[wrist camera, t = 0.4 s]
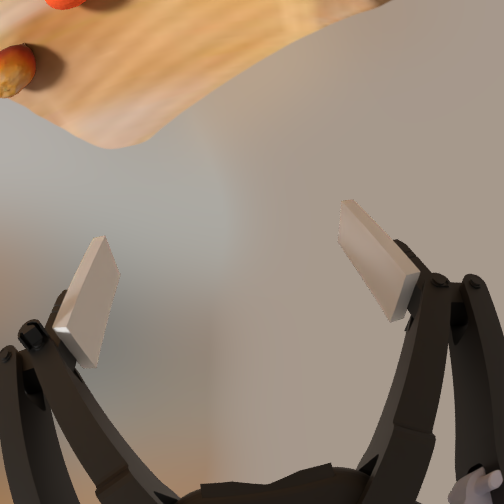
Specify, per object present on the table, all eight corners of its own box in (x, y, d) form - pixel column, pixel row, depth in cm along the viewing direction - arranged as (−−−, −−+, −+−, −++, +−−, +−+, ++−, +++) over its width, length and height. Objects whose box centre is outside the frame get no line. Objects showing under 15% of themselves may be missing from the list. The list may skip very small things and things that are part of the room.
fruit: (26, 22, 18) (12, 66, 19) (47, 50, 26) (39, 92, 26) (-16, 47, 17) (-30, 92, 17) (8, 70, 25) (-1, 111, 25)
